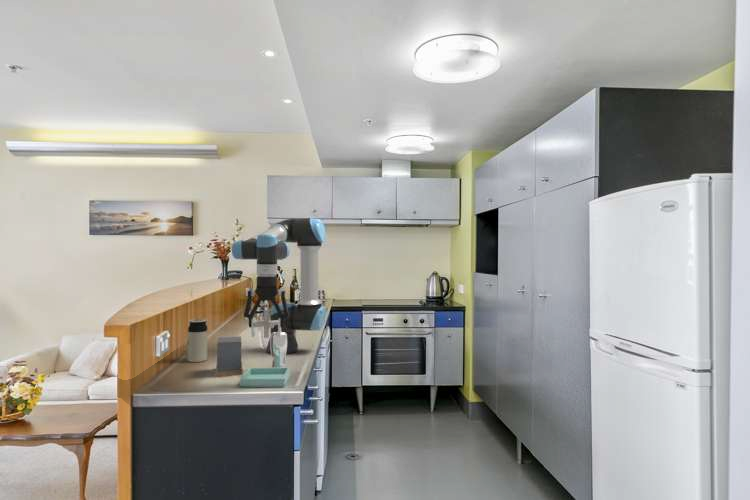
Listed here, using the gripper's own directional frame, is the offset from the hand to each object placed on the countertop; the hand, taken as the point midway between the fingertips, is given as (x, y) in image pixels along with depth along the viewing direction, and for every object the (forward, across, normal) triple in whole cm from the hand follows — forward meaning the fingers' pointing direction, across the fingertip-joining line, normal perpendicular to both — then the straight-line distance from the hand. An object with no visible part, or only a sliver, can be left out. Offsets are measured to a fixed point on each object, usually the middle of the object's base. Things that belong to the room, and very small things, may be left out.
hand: (266, 335), depth 164 cm
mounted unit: (+17, -17, +14) cm, 28 cm away
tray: (+17, 0, 0) cm, 17 cm away
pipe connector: (+1, 0, 0) cm, 1 cm away
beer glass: (+17, +2, +16) cm, 24 cm away
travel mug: (+17, -36, +34) cm, 52 cm away
